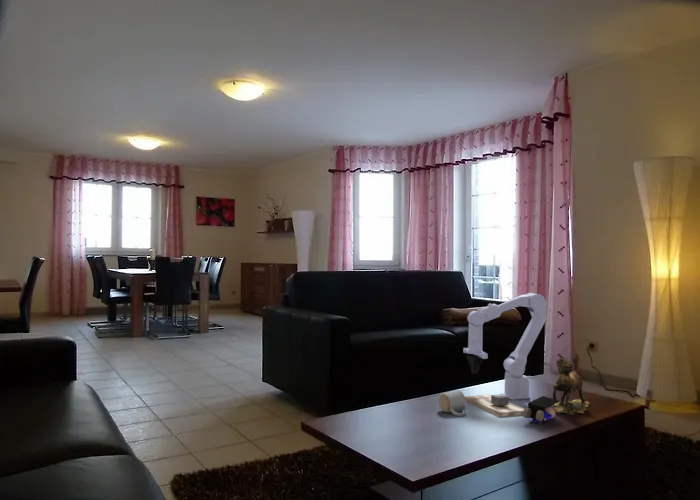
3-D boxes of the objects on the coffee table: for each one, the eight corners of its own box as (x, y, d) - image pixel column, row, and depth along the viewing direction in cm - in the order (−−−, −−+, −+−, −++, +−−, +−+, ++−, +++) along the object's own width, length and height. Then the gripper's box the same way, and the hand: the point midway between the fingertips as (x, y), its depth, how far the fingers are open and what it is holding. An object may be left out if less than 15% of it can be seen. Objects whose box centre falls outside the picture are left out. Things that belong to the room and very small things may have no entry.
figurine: (542, 410, 195) (543, 356, 195) (568, 398, 213) (568, 349, 213) (577, 418, 186) (578, 361, 186) (601, 405, 204) (601, 354, 204)
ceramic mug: (437, 410, 191) (437, 390, 191) (454, 407, 195) (454, 388, 195) (454, 418, 182) (454, 397, 182) (471, 415, 186) (472, 395, 186)
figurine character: (541, 432, 173) (560, 418, 184) (540, 410, 172) (559, 397, 183) (522, 427, 178) (541, 414, 188) (521, 406, 177) (541, 393, 188)
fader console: (489, 398, 210) (489, 394, 210) (527, 414, 189) (527, 409, 189) (463, 400, 206) (463, 396, 206) (499, 416, 184) (500, 412, 184)
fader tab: (502, 402, 197) (502, 393, 197) (508, 404, 193) (508, 396, 193) (491, 403, 195) (491, 394, 195) (497, 406, 191) (497, 397, 191)
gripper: (457, 337, 219) (456, 370, 219) (477, 343, 205) (476, 377, 205) (471, 337, 221) (470, 369, 221) (492, 342, 208) (491, 376, 207)
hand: (474, 373), depth 213 cm, fingers closed
